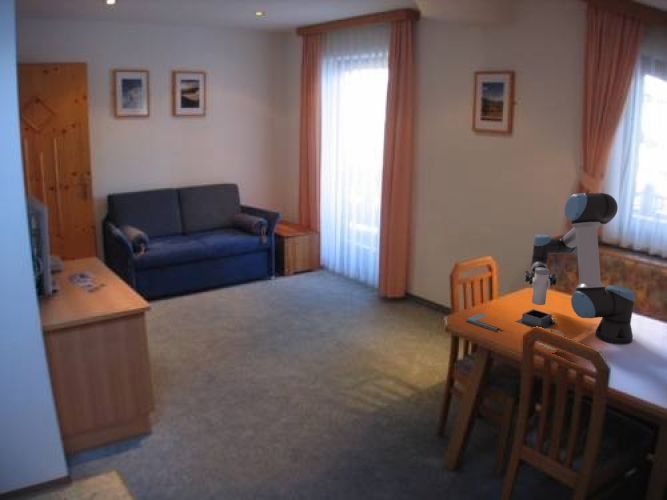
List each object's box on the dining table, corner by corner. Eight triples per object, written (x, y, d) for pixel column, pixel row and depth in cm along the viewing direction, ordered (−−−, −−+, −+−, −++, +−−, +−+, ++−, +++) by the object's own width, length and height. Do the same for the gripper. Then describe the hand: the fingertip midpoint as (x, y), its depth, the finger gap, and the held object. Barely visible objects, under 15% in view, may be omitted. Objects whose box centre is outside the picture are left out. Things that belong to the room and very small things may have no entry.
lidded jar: (557, 358, 259) (560, 336, 257) (531, 350, 266) (534, 330, 263) (565, 350, 268) (568, 329, 265) (540, 343, 274) (543, 322, 271)
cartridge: (548, 303, 291) (552, 269, 287) (541, 306, 287) (545, 272, 283) (535, 299, 296) (539, 266, 292) (528, 302, 291) (532, 268, 287)
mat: (510, 325, 293) (510, 322, 293) (496, 331, 285) (496, 328, 285) (480, 315, 304) (480, 313, 304) (466, 321, 296) (466, 318, 296)
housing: (557, 326, 294) (558, 315, 292) (542, 333, 284) (543, 322, 283) (529, 317, 303) (531, 306, 302) (514, 324, 294) (515, 313, 293)
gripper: (559, 281, 304) (562, 295, 282) (518, 276, 309) (518, 290, 287) (561, 266, 302) (564, 279, 281) (520, 261, 307) (520, 274, 285)
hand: (541, 285), depth 284 cm, fingers closed on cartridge, 6 cm apart
